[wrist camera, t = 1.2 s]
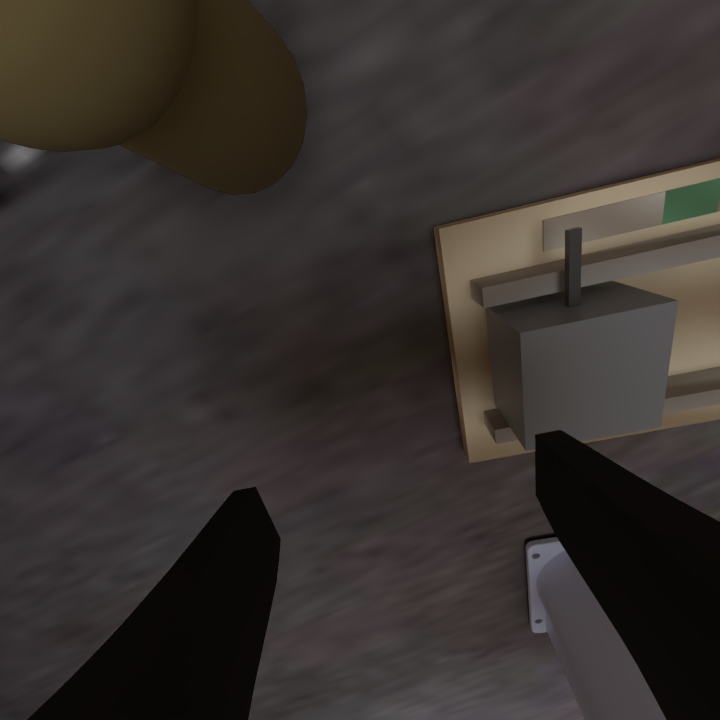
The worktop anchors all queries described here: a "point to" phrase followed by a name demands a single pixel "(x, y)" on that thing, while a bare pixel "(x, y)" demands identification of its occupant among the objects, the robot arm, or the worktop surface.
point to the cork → (154, 85)
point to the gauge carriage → (581, 357)
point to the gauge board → (598, 264)
